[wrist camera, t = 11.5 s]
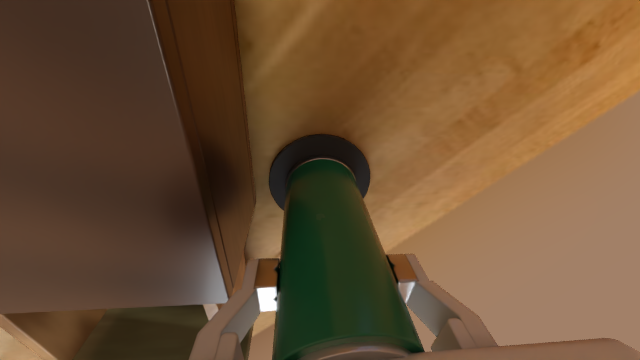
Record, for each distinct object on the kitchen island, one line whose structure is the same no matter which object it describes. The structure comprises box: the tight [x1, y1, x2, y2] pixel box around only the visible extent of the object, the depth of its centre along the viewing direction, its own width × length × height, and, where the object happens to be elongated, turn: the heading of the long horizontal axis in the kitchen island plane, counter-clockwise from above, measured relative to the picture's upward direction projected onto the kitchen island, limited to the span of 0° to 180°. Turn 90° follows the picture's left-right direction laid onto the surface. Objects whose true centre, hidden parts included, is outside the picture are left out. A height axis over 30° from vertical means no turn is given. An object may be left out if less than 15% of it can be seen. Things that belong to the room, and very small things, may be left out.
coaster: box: [269, 134, 370, 210], centre depth 18 cm, size 8×8×1 cm
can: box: [272, 155, 425, 360], centre depth 13 cm, size 6×6×12 cm
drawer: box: [0, 252, 254, 360], centre depth 18 cm, size 18×13×7 cm
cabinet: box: [0, 0, 256, 314], centre depth 11 cm, size 15×15×9 cm
